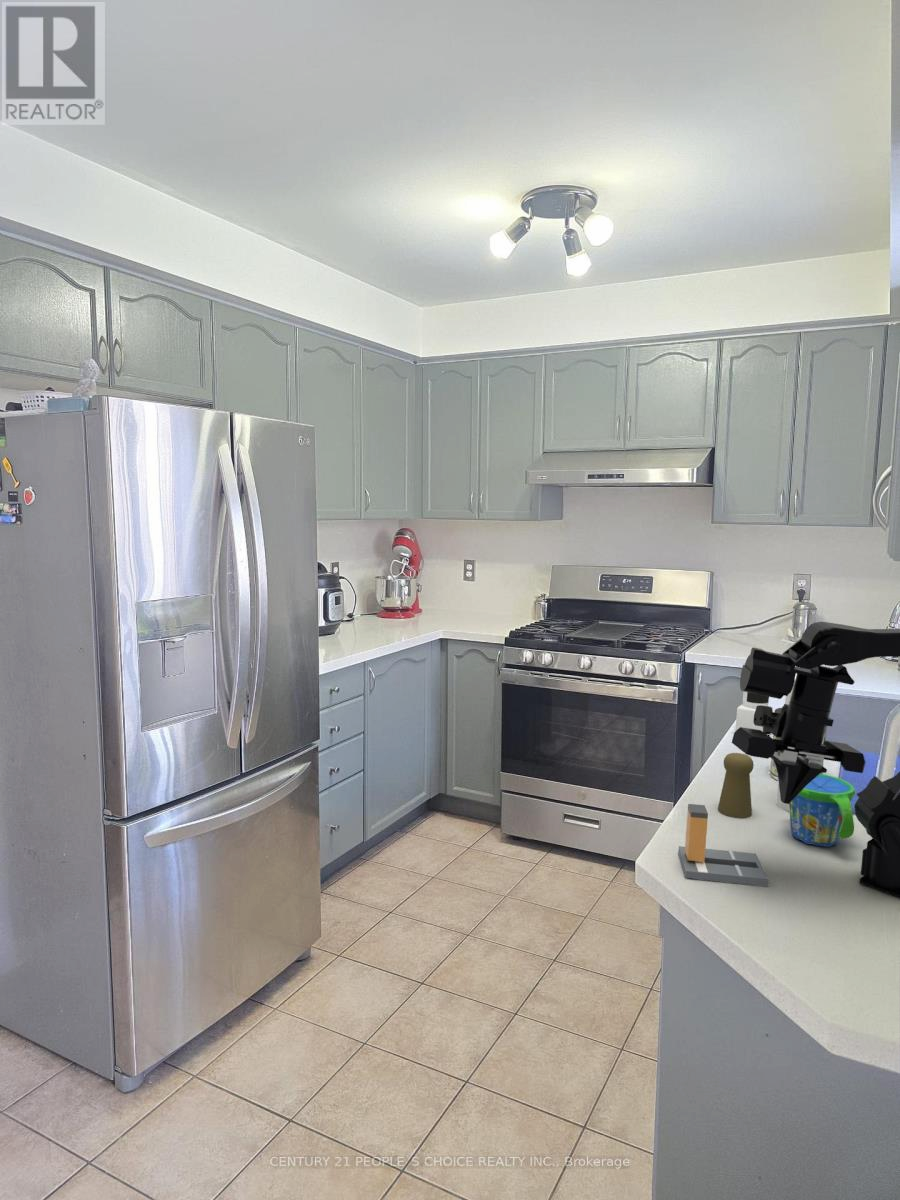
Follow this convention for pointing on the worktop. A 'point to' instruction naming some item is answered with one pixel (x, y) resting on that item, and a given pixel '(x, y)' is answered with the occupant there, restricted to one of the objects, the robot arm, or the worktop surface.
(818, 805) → the snack cup
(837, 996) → the worktop surface
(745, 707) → the medicine bottle
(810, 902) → the worktop surface
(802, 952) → the worktop surface
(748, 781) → the cork
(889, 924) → the worktop surface
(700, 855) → the fader tab
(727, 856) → the fader console
